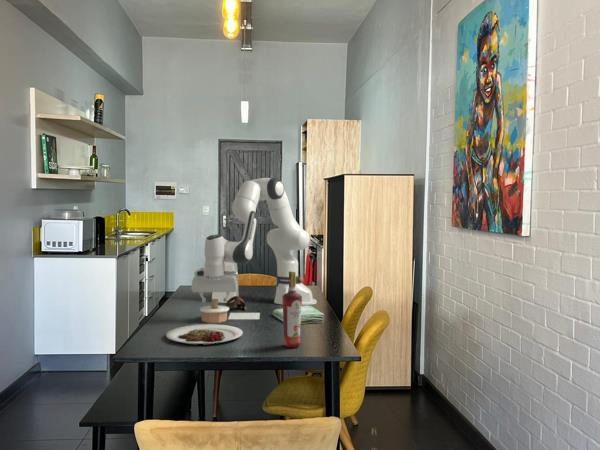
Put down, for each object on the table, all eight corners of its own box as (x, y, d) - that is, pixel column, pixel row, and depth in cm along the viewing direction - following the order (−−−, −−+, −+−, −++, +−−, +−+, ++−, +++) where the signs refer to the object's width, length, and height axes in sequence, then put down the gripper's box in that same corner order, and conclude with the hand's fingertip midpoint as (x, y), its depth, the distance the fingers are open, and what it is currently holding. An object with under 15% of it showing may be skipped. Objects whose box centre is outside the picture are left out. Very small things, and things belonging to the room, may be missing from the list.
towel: (287, 327, 244) (287, 315, 243) (272, 317, 263) (272, 306, 263) (326, 323, 250) (326, 312, 250) (308, 314, 270) (308, 303, 270)
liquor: (295, 342, 216) (296, 270, 214) (305, 347, 209) (305, 272, 208) (278, 345, 212) (279, 271, 211) (287, 349, 206) (288, 273, 204)
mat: (259, 314, 268) (259, 312, 268) (259, 320, 254) (259, 319, 254) (230, 314, 267) (230, 312, 267) (228, 320, 253) (228, 319, 253)
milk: (238, 298, 307) (238, 251, 306) (234, 302, 296) (234, 253, 294) (217, 298, 308) (217, 250, 307) (211, 302, 297) (211, 253, 295)
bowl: (227, 318, 258) (227, 307, 257) (225, 323, 247) (225, 312, 247) (203, 318, 257) (203, 307, 257) (200, 323, 246) (200, 312, 246)
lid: (230, 307, 259) (230, 296, 258) (228, 313, 246) (228, 302, 245) (201, 307, 258) (201, 296, 258) (198, 313, 245) (198, 302, 245)
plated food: (192, 326, 243) (192, 318, 243) (255, 332, 232) (255, 324, 232) (150, 342, 216) (150, 333, 215) (219, 351, 205) (219, 341, 204)
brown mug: (247, 313, 271) (238, 299, 268) (230, 321, 272) (221, 307, 270) (250, 303, 282) (242, 289, 280) (233, 310, 284) (225, 297, 282)
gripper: (238, 270, 255) (238, 300, 255) (192, 270, 253) (192, 300, 254) (237, 272, 248) (237, 303, 249) (190, 272, 247) (190, 303, 248)
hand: (214, 302), depth 252 cm, fingers open, 8 cm apart
